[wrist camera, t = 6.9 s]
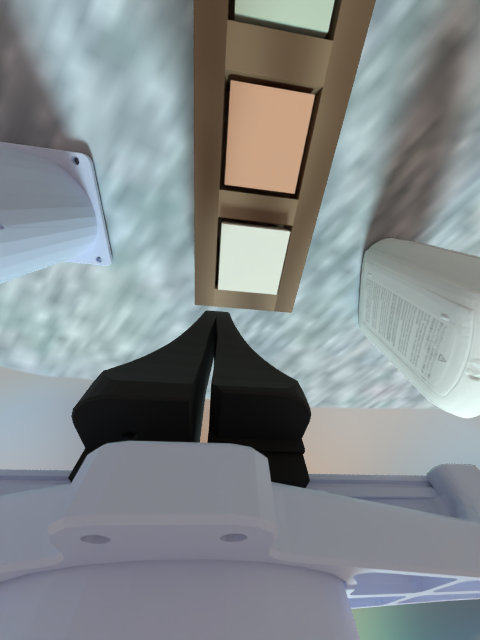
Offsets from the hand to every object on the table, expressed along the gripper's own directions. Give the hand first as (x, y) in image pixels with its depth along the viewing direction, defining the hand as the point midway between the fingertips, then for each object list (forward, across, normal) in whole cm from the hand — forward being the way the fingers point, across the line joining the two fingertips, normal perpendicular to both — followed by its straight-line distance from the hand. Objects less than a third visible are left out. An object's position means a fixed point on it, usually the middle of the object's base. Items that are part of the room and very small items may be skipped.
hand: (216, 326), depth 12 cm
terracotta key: (+7, -2, -9) cm, 12 cm away
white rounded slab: (+10, -16, 0) cm, 19 cm away
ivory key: (+6, -2, -3) cm, 7 cm away
